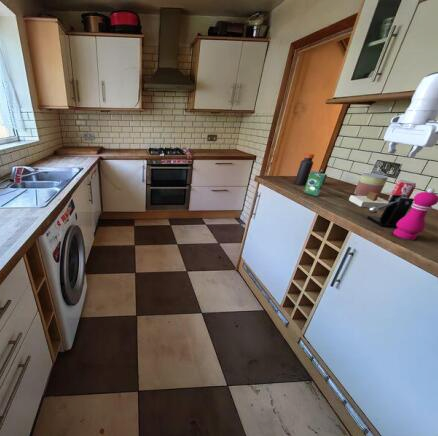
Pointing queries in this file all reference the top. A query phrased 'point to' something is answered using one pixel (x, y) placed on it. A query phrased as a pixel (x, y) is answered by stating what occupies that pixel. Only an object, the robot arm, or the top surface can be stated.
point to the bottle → (304, 170)
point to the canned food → (370, 184)
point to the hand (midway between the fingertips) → (400, 155)
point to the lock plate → (367, 201)
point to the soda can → (403, 188)
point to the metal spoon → (375, 209)
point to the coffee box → (314, 183)
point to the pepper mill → (416, 215)
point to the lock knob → (372, 196)
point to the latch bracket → (393, 212)
